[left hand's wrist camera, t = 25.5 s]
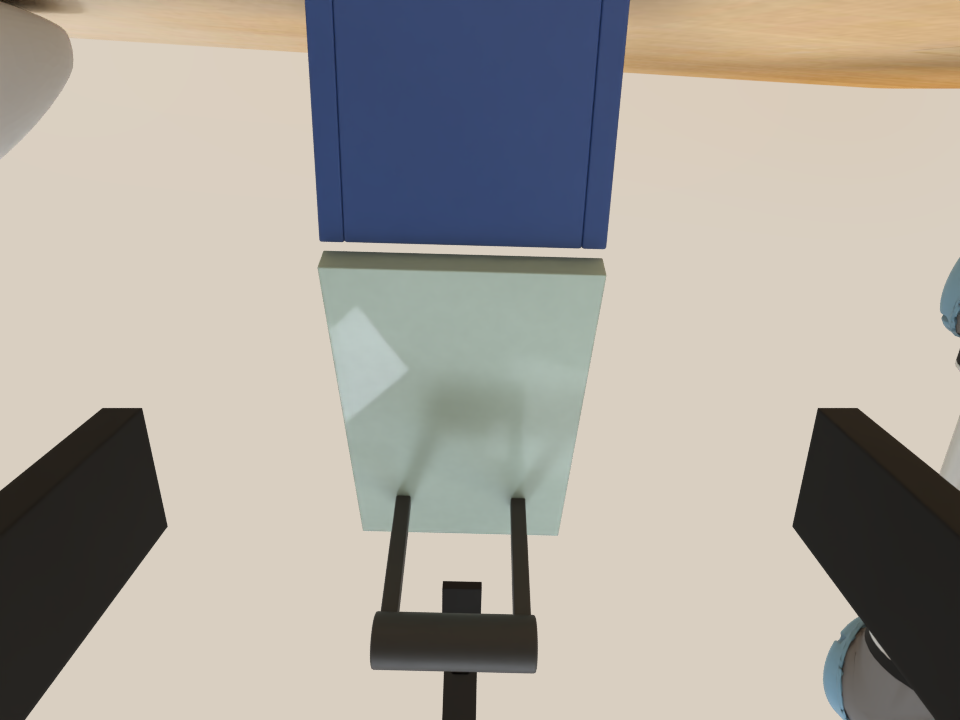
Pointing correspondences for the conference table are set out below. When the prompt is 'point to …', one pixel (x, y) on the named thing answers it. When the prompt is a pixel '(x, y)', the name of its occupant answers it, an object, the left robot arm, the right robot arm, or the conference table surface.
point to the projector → (29, 71)
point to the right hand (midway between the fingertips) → (459, 661)
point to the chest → (465, 120)
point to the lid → (460, 422)
